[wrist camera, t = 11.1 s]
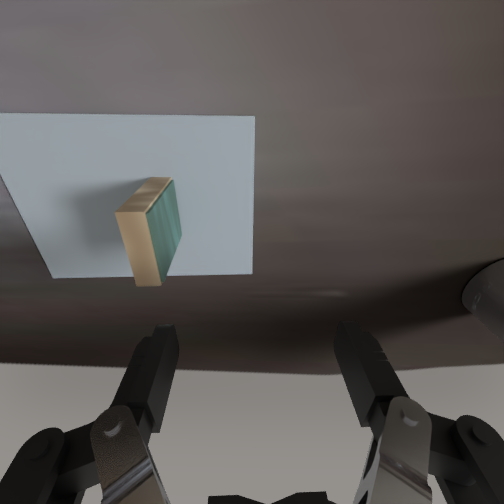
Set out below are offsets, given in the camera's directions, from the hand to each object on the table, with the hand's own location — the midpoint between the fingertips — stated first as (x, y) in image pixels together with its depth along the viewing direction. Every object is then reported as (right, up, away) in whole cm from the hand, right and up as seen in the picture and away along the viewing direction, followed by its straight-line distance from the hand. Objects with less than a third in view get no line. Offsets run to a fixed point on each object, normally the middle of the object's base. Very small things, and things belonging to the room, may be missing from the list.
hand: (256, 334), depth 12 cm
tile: (-8, +8, +12) cm, 17 cm away
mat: (-11, +8, +12) cm, 18 cm away
